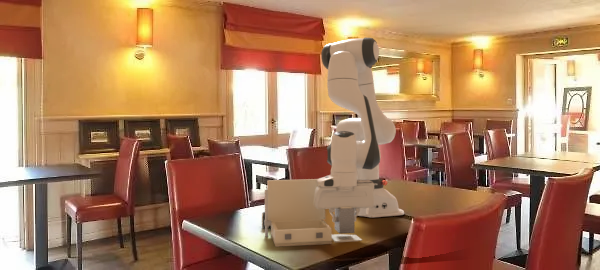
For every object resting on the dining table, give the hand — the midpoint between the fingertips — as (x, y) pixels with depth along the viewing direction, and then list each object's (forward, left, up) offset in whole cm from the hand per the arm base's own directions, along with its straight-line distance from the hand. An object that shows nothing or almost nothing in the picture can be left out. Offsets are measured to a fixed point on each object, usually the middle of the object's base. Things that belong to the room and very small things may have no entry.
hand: (344, 221), depth 153 cm
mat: (0, 0, -6) cm, 6 cm away
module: (0, 0, -3) cm, 3 cm away
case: (+15, -1, -6) cm, 16 cm away
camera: (+21, -20, -6) cm, 30 cm away
